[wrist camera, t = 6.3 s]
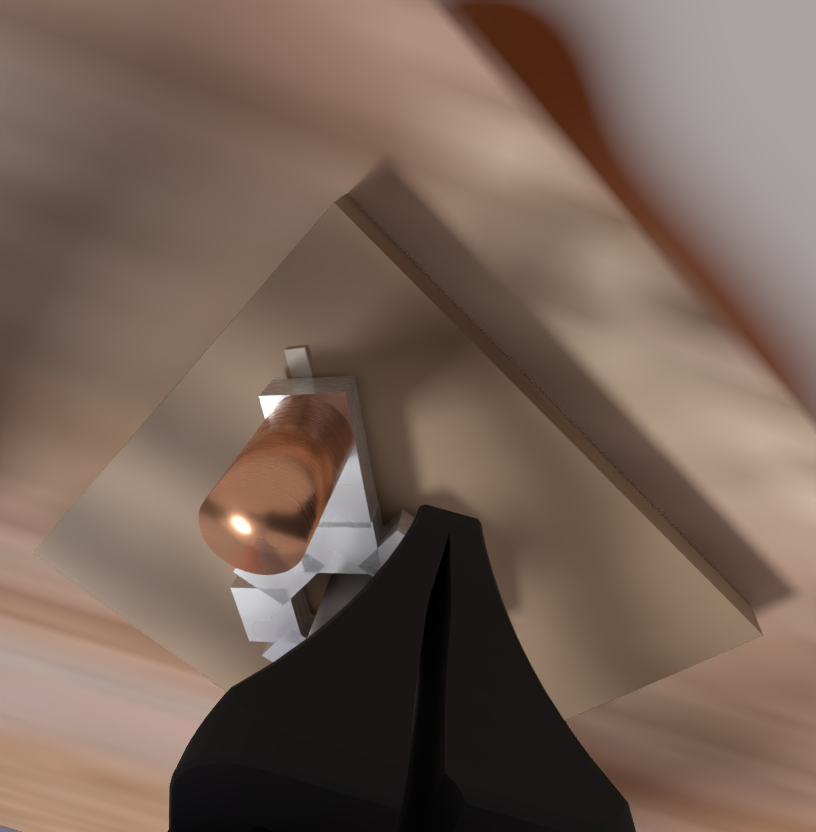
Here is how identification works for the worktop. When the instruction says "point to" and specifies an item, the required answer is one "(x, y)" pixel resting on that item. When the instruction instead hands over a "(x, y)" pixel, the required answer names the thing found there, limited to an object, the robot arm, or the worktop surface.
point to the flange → (298, 507)
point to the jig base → (400, 483)
